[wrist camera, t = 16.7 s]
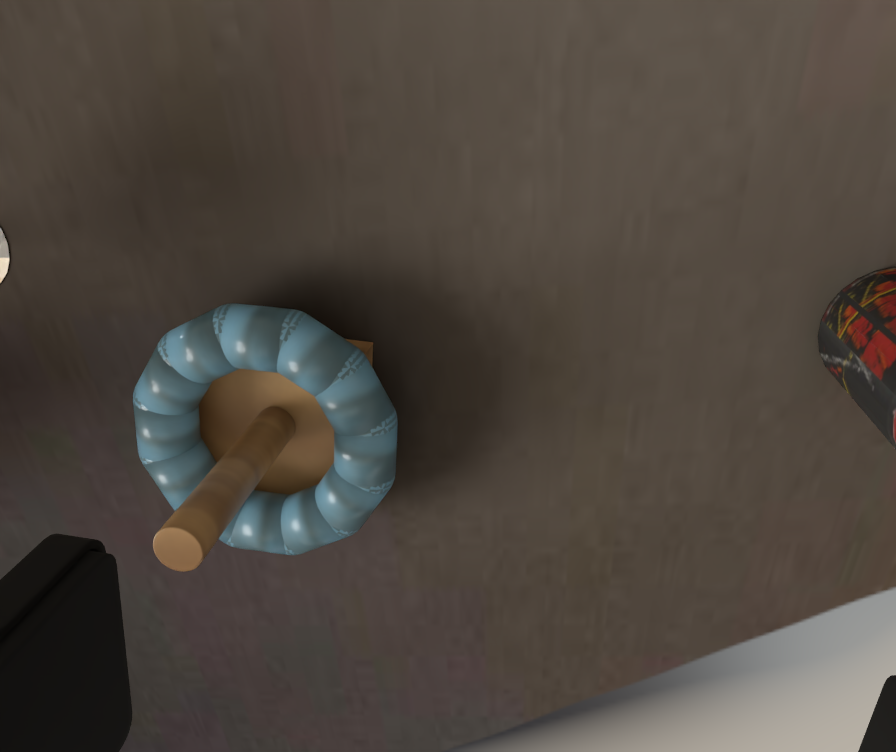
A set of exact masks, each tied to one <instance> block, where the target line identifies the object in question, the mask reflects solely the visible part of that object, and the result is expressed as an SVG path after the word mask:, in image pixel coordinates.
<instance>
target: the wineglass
mask: <svg viewBox="0 0 896 752" xmlns="http://www.w3.org/2000/svg"><path fill="white" fill-rule="evenodd" d="M9 260H10V258H9V250H8V244H7V241H6V239H5V236H4V234H3V232H2V229H1V228H0V283H1V282H2V280H3V278H4V277H5V275H6V274H7V271H8V265H9Z"/></svg>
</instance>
